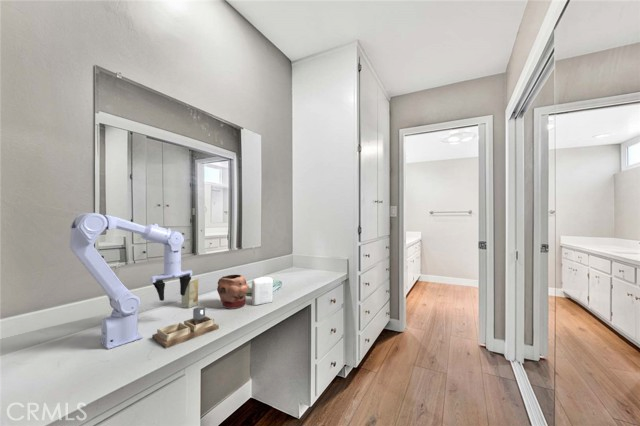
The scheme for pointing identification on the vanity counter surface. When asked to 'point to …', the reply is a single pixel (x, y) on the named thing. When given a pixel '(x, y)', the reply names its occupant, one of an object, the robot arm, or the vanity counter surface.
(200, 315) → the grey metal peg
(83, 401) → the vanity counter surface
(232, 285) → the decorative planter
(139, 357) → the vanity counter surface
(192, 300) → the skincare box
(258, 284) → the photo printer
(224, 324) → the vanity counter surface
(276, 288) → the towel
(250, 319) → the vanity counter surface
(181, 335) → the socket board
